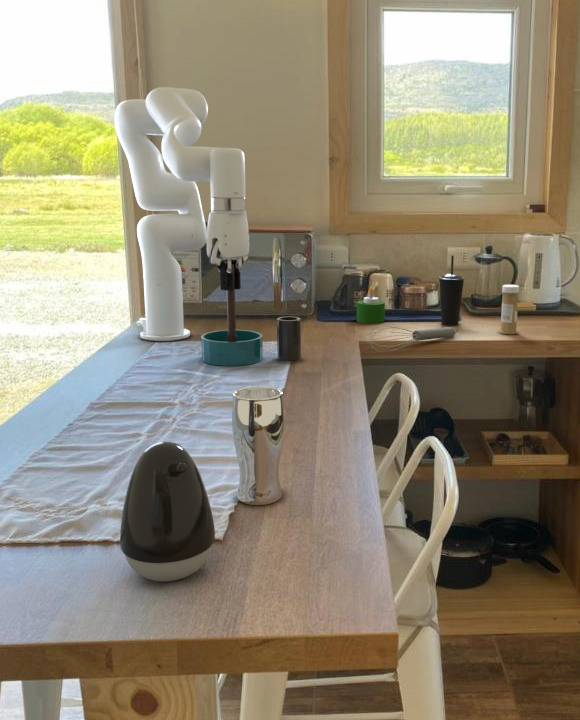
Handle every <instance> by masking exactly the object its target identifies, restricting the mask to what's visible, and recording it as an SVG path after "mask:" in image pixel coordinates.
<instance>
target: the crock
mask: <svg viewBox="0 0 580 720" xmlns="http://www.w3.org/2000/svg"><path fill="white" fill-rule="evenodd" d="M276 352H277V354H276V355H277V358H276V359H277V360H278V361H280V362H287V363H289V362H298V361H300V360H301V359H302V318H301V317H300V316H299V317H298V316H280V317H277V318H276Z"/></svg>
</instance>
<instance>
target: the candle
mask: <svg viewBox="0 0 580 720" xmlns="http://www.w3.org/2000/svg"><path fill="white" fill-rule="evenodd" d="M385 314H386V302H385V301H383V300H379V297H376V296H374V288H373V287H372V286H370V287H369V289H368V296H365V297H363V300H362V299H361V300H358V301H356V322H357V323H360V324H361V323H362V324H382V323H385V320H386V319H385V318H386V315H385Z"/></svg>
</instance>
